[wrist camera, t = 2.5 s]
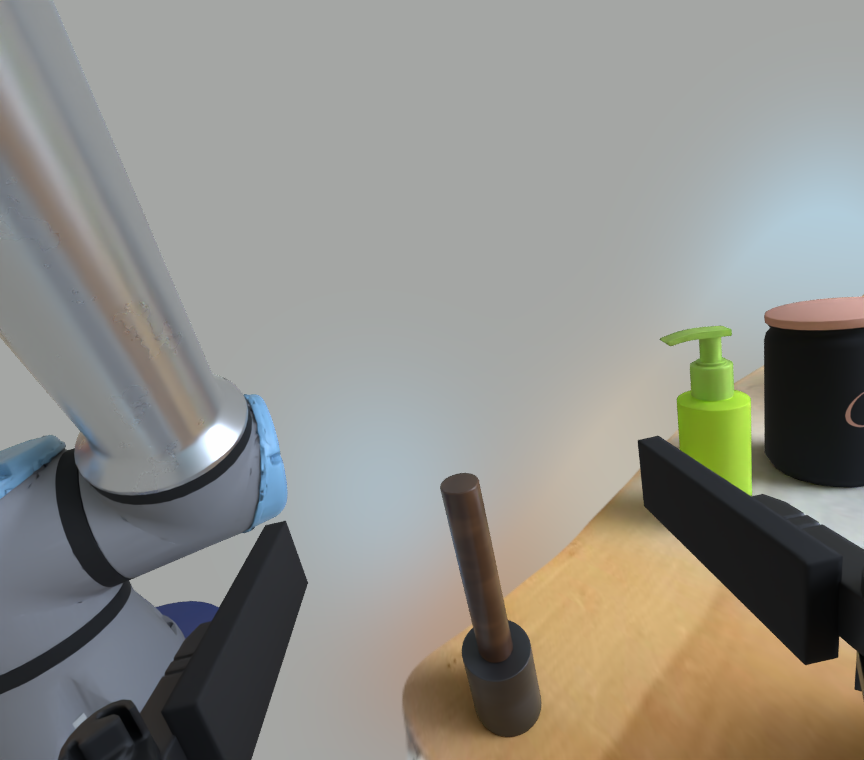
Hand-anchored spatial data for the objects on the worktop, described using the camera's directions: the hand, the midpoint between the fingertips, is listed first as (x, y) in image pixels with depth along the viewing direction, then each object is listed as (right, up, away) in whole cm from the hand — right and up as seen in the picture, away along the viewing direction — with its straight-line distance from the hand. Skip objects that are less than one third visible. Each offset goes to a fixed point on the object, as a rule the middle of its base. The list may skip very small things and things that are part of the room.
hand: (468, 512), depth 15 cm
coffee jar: (+43, -5, +32) cm, 54 cm away
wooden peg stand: (+4, -18, +15) cm, 24 cm away
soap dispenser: (+28, -10, +28) cm, 41 cm away
